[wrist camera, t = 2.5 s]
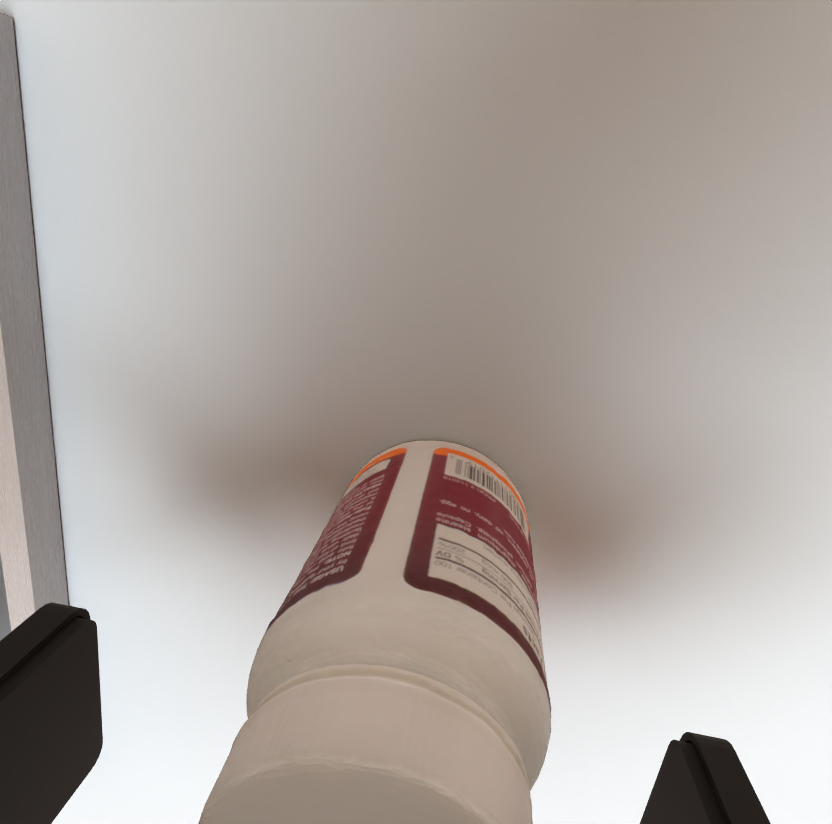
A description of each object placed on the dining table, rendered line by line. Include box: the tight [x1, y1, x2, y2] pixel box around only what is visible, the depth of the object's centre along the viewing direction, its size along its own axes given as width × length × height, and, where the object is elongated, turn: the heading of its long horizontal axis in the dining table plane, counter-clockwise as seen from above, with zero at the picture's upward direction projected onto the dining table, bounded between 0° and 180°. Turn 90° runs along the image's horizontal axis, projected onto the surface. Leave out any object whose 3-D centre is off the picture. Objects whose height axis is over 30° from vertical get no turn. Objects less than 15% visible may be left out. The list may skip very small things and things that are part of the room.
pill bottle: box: [199, 441, 551, 824], centre depth 10 cm, size 5×5×8 cm
